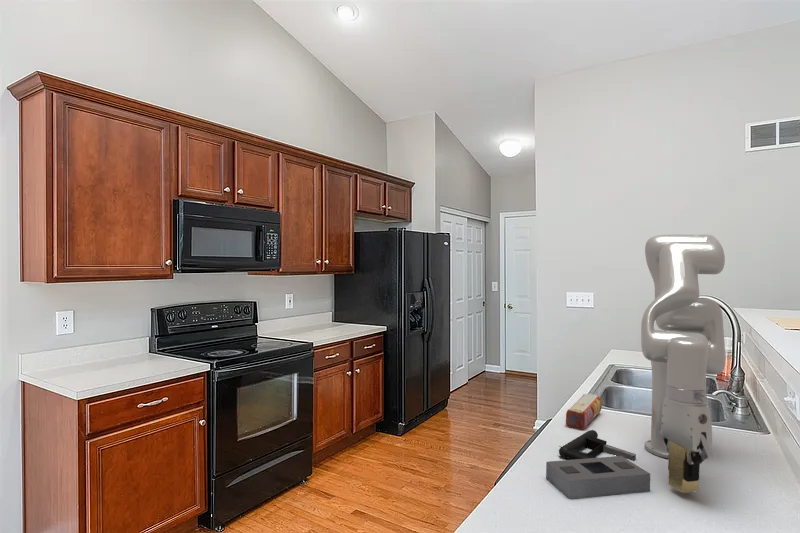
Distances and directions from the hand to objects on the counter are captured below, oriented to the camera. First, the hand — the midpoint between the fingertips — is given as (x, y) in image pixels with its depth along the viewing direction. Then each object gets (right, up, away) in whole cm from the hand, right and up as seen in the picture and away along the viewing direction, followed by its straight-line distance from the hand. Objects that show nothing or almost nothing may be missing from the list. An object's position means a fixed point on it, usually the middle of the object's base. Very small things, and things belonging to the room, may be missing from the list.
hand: (683, 474), depth 108 cm
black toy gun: (-10, -4, +22) cm, 24 cm away
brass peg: (0, -3, 0) cm, 3 cm away
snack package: (-3, -4, +49) cm, 50 cm away
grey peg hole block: (-18, -4, +4) cm, 19 cm away
